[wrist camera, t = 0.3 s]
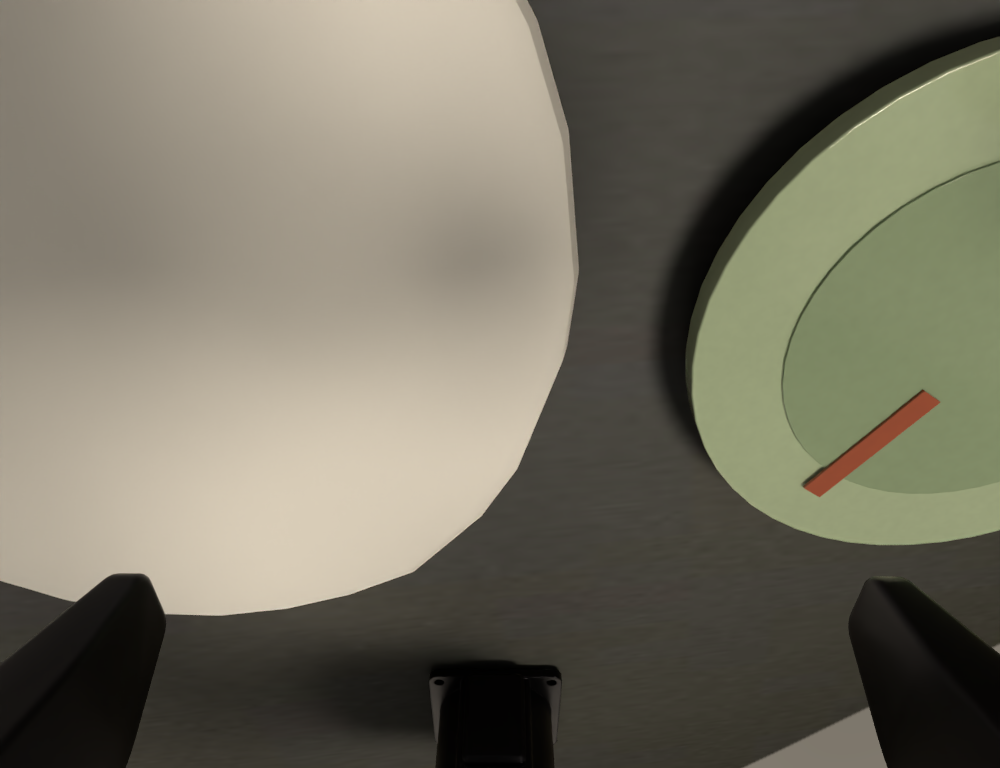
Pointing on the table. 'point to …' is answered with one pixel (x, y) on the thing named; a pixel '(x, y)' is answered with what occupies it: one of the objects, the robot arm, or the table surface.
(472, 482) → the white round disc
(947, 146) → the green disc with post
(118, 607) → the robot arm
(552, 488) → the table surface
